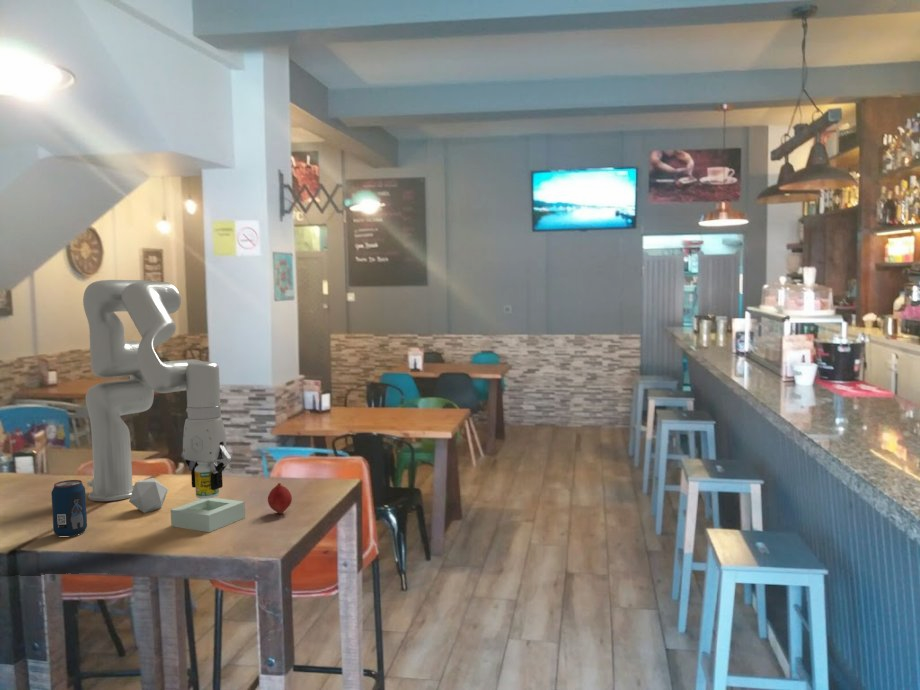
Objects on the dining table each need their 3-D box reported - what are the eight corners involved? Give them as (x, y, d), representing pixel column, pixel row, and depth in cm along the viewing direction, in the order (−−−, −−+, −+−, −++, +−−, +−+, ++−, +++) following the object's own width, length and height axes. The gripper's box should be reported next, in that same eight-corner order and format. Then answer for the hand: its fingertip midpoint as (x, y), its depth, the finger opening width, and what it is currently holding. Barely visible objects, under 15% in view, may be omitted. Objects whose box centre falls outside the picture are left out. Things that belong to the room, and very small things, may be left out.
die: (168, 514, 186) (176, 479, 191) (138, 504, 180) (147, 468, 185) (149, 521, 190) (158, 486, 195) (119, 511, 184) (129, 476, 190)
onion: (263, 514, 183) (262, 482, 182) (283, 508, 187) (282, 478, 186) (276, 518, 179) (275, 486, 178) (296, 513, 183) (295, 481, 182)
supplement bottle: (215, 491, 180) (214, 453, 180) (221, 496, 176) (220, 457, 175) (193, 495, 177) (191, 456, 177) (198, 500, 173) (197, 460, 172)
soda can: (64, 528, 173) (61, 479, 173) (93, 528, 173) (90, 479, 172) (47, 538, 166) (44, 487, 166) (77, 538, 166) (74, 486, 165)
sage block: (171, 526, 174) (170, 509, 174) (208, 512, 185) (207, 496, 185) (209, 532, 169) (209, 515, 169) (245, 517, 180) (244, 501, 180)
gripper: (165, 413, 175) (168, 487, 177) (220, 417, 168) (223, 495, 169) (189, 409, 182) (192, 480, 183) (242, 412, 175) (245, 487, 176)
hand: (207, 486), depth 176 cm, fingers closed on supplement bottle, 5 cm apart
